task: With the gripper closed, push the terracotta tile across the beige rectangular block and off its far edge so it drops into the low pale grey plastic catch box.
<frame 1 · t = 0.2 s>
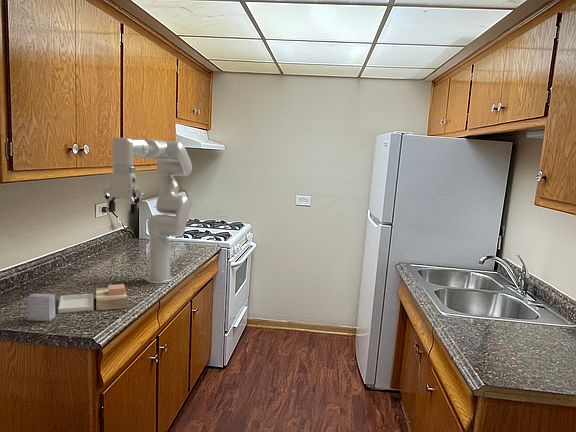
hand: (122, 212, 175), 36 cm above the worktop, tool pointing down, fingers open, 9 cm apart
beige rectangular block: (111, 302, 178), on the worktop
tile: (116, 292, 178), point 4 cm above the worktop, touching beige rectangular block
catch box: (76, 305, 173), on the worktop
medicine box: (41, 319, 157), on the worktop
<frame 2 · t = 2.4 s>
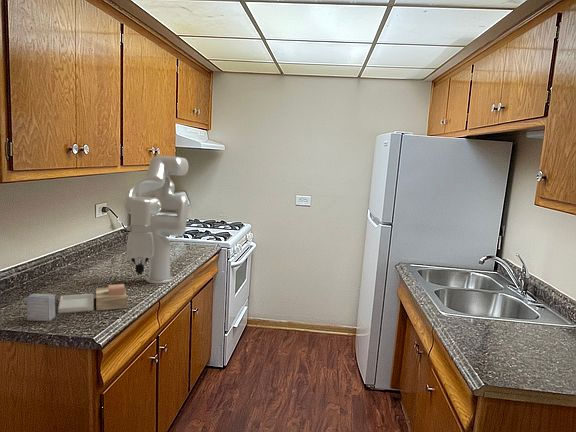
hand: (139, 273, 180), 11 cm above the worktop, tool pointing down, fingers closed
nothing on the worktop moved.
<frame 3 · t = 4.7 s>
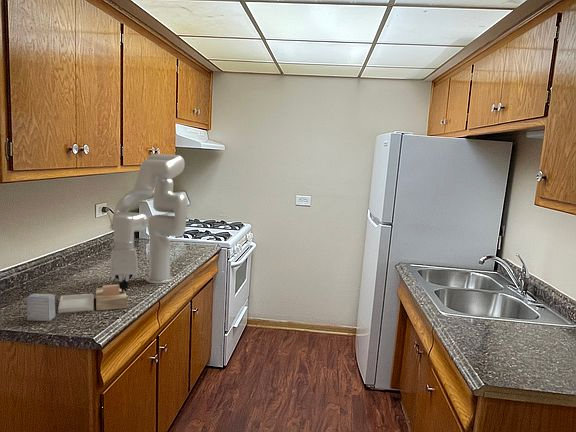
hand: (123, 290, 179), 5 cm above the worktop, tool pointing down, fingers closed
tile: (111, 293, 177), point 4 cm above the worktop, touching gripper, beige rectangular block
everything else where it was.
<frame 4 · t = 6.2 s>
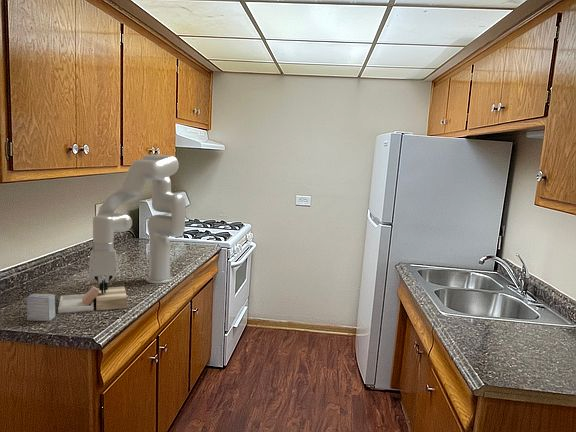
hand: (103, 291, 176), 5 cm above the worktop, tool pointing down, fingers closed
tile: (93, 297, 175), point 3 cm above the worktop, tilted 49°, touching catch box, beige rectangular block
everything else where it was.
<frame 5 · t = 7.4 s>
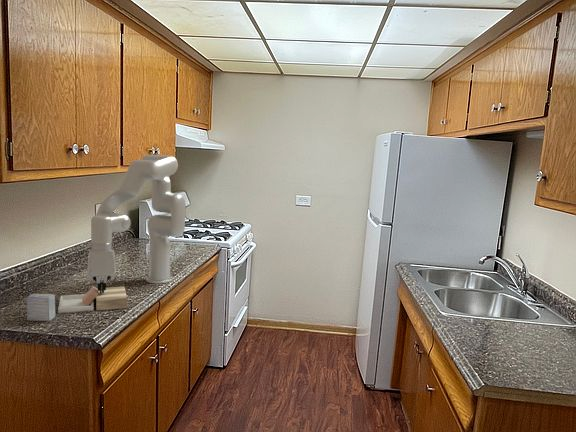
hand: (101, 292, 176), 5 cm above the worktop, tool pointing down, fingers closed
nothing on the worktop moved.
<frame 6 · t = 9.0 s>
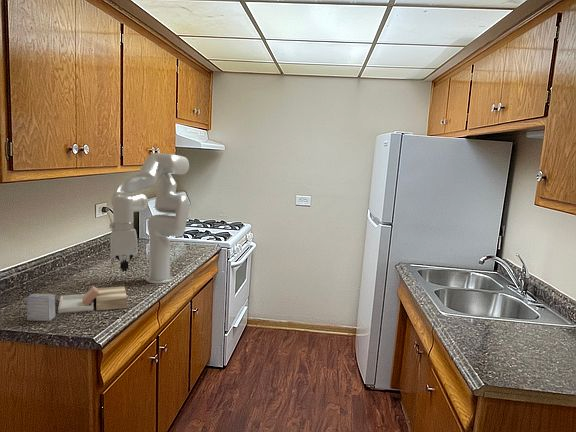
hand: (124, 270, 179), 13 cm above the worktop, tool pointing down, fingers closed
nothing on the worktop moved.
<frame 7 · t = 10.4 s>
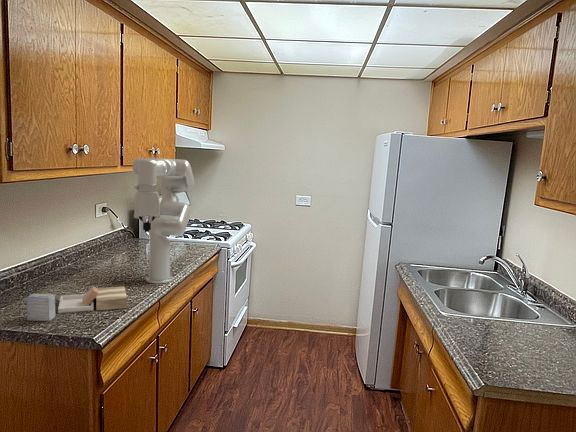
hand: (146, 231, 189), 27 cm above the worktop, tool pointing down, fingers closed
nothing on the worktop moved.
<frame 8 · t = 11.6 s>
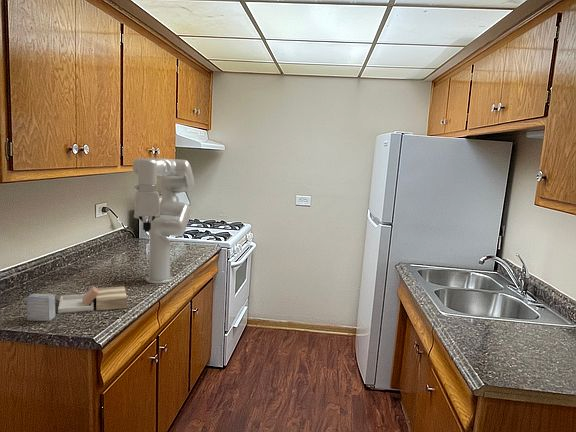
hand: (146, 231, 189), 27 cm above the worktop, tool pointing down, fingers closed
nothing on the worktop moved.
at the end: tile inside the target area on the catch box (5.8 cm from its centre), point 2.7 cm above the catch box's base; tile point 2.7 cm above the worktop; the gripper is holding nothing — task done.
